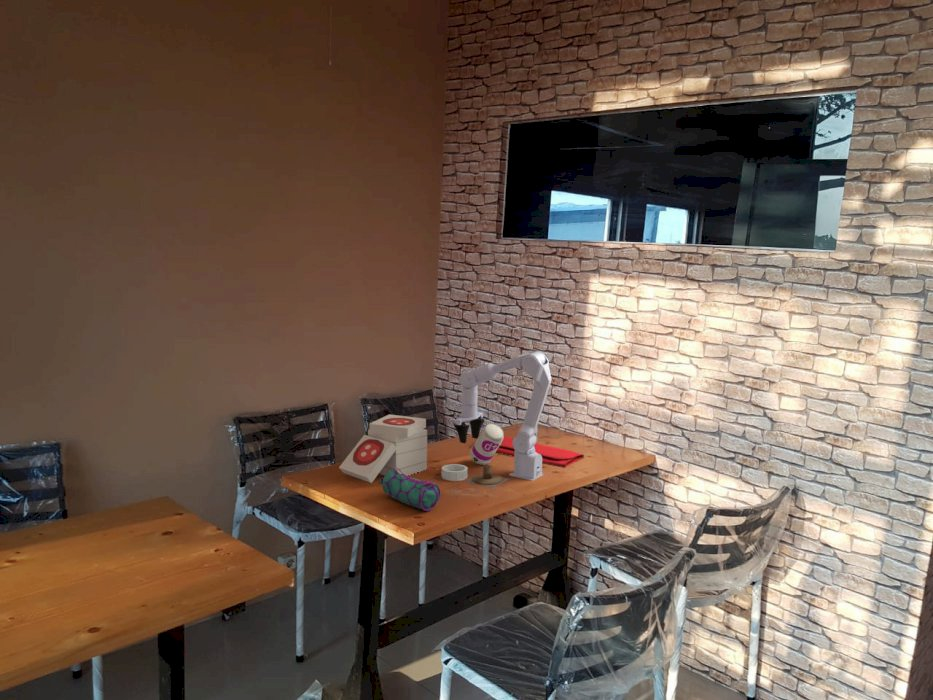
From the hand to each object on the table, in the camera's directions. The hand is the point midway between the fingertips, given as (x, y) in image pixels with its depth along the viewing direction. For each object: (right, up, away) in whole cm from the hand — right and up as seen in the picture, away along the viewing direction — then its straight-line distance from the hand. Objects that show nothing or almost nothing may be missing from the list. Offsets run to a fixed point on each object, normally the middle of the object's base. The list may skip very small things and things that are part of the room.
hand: (469, 440), depth 264 cm
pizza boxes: (-29, -11, -7) cm, 32 cm away
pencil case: (-19, -16, -35) cm, 42 cm away
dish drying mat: (+23, -8, +21) cm, 32 cm away
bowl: (-5, -12, -10) cm, 16 cm away
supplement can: (+4, -7, +6) cm, 10 cm away
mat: (+6, -12, -13) cm, 19 cm away
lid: (+6, -12, -13) cm, 19 cm away
